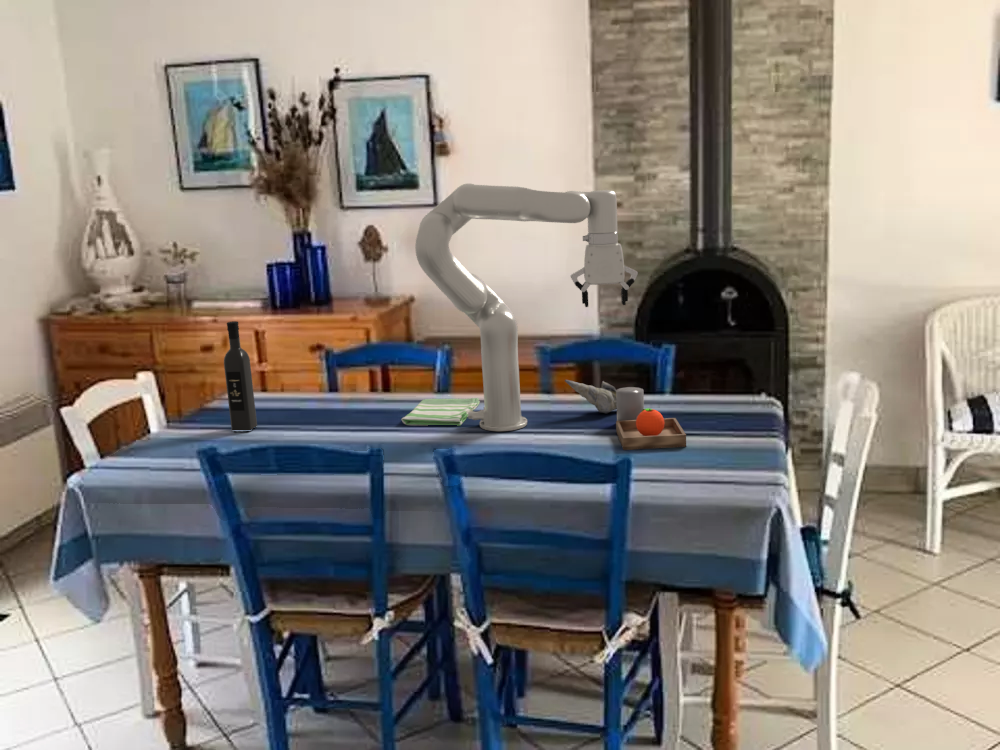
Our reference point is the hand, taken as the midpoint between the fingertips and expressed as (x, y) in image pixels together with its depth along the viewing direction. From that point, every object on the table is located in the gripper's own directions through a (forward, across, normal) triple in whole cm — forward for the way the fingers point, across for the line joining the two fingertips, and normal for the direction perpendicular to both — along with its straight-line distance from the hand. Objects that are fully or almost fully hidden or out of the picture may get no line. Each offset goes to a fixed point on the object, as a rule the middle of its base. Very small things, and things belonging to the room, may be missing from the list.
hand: (605, 305), depth 266 cm
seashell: (+31, -2, +7) cm, 31 cm away
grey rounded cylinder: (+30, +5, -7) cm, 32 cm away
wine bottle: (+31, -99, +7) cm, 104 cm away
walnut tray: (+30, +8, -22) cm, 38 cm away
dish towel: (+31, -45, +13) cm, 56 cm away
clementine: (+30, +8, -21) cm, 37 cm away
